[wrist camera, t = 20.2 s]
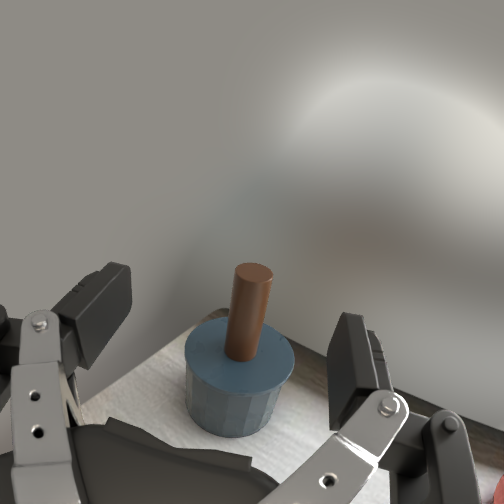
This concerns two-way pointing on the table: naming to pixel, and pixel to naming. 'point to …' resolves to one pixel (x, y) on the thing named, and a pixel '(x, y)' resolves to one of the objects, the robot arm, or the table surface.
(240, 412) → the pot
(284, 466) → the table surface
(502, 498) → the apple
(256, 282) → the lid
